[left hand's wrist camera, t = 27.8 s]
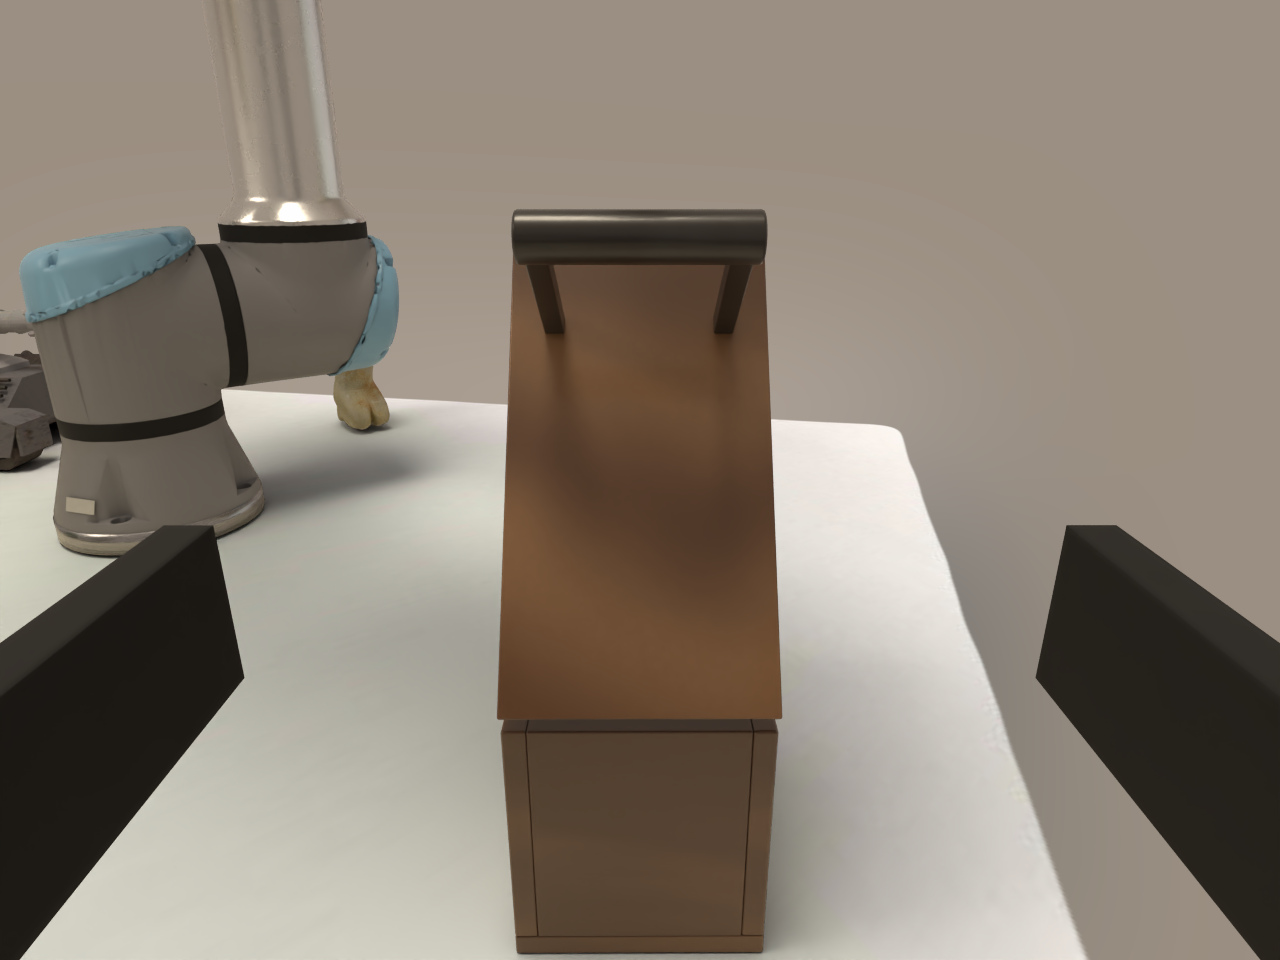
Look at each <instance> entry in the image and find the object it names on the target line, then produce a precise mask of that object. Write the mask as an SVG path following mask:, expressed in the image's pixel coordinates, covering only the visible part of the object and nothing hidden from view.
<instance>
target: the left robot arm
mask: <svg viewBox="0 0 1280 960" xmlns="http://www.w3.org/2000/svg"><path fill="white" fill-rule="evenodd" d="M243 679H244V674H243V669H242V664H241V659H240V654H239V649H238V644H237V639H236V634H235V629H234V624H233V619H232V614H231V610H230V605H229V600H228V595H227V590H226V585H225V580H224V575H223V570H222V565H221V560H220V555H219V551H218V546H217V541H216V536H215V531H214V526H213V525H163V526H162V527H161V528H159V529H158V530H156V531H155V532H154V533H152V534H151V535H150V536H148V537H147V538H145V539H144V540H143V541H141V542H140V543H138V544H137V545H136V546H134V547H133V548H132V549H130V550H129V551H127V552H126V553H125V554H123V555H122V556H120V557H119V558H118V559H116V560H115V561H113V562H112V563H111V564H109V565H108V566H107V567H105V568H104V569H102V570H101V571H100V572H98V573H97V574H95V575H94V576H93V577H91V578H90V579H89V580H87V581H86V582H84V583H83V584H82V585H80V586H79V587H77V588H76V589H75V590H73V591H72V592H70V593H69V594H68V595H66V596H65V597H64V598H62V599H61V600H59V601H58V602H57V603H55V604H54V605H52V606H51V607H50V608H48V609H47V610H46V611H44V612H43V613H41V614H40V615H39V616H37V617H36V618H34V619H33V620H32V621H30V622H29V623H28V624H26V625H25V626H23V627H22V628H21V629H19V630H18V631H16V632H15V633H14V634H12V635H11V636H9V637H8V638H7V639H5V640H4V641H3V642H1V643H0V960H20V958H21V957H22V956H23V955H24V953H25V952H26V951H27V950H28V948H29V947H30V946H31V945H32V943H33V942H34V941H35V940H36V938H37V937H38V936H39V935H40V933H41V932H42V931H43V930H44V928H45V927H46V926H47V925H48V923H49V922H50V921H51V920H52V918H53V917H54V916H55V915H56V913H57V912H58V911H59V910H60V908H61V907H62V906H63V905H64V903H65V902H66V901H67V900H68V898H69V897H70V896H71V895H72V893H73V892H74V891H75V890H76V888H77V887H78V886H79V885H80V883H81V882H82V881H83V880H84V878H85V877H86V876H87V874H88V873H89V872H90V871H91V869H92V868H93V867H94V866H95V864H96V863H97V862H98V861H99V859H100V858H101V857H102V856H103V854H104V853H105V852H106V851H107V849H108V848H109V847H110V846H111V844H112V843H113V842H114V841H115V839H116V838H117V837H118V836H119V834H120V833H121V832H122V831H123V829H124V828H125V827H126V826H127V824H128V823H129V822H130V821H131V819H132V818H133V817H134V816H135V814H136V813H137V812H138V811H139V809H140V808H141V807H142V806H143V804H144V803H145V802H146V801H147V799H148V798H149V797H150V795H151V794H152V793H153V792H154V790H155V789H156V788H157V787H158V785H159V784H160V783H161V782H162V780H163V779H164V778H165V777H166V775H167V774H168V773H169V772H170V770H171V769H172V768H173V767H174V765H175V764H176V763H177V762H178V760H179V759H180V758H181V757H182V755H183V754H184V753H185V752H186V750H187V749H188V748H189V747H190V745H191V744H192V743H193V742H194V740H195V739H196V738H197V737H198V735H199V734H200V733H201V732H202V730H203V729H204V728H205V727H206V725H207V724H208V723H209V722H210V720H211V719H212V718H213V716H214V715H215V714H216V713H217V711H218V710H219V709H220V708H221V706H222V705H223V704H224V703H225V701H226V700H227V699H228V698H229V696H230V695H231V694H232V693H233V691H234V690H235V689H236V688H237V686H238V685H239V684H240V683H241V681H242V680H243ZM1036 679H1037V680H1038V681H1039V683H1040V684H1041V685H1042V686H1043V688H1044V689H1045V690H1046V691H1047V693H1048V694H1049V695H1050V696H1051V698H1052V699H1053V700H1054V701H1055V703H1056V704H1057V705H1058V706H1059V708H1060V709H1061V710H1062V711H1063V713H1064V714H1065V715H1066V716H1067V718H1068V719H1069V720H1070V722H1071V723H1072V724H1073V725H1074V727H1075V728H1076V729H1077V730H1078V732H1079V733H1080V734H1081V735H1082V737H1083V738H1084V739H1085V740H1086V742H1087V743H1088V744H1089V745H1090V747H1091V748H1092V749H1093V750H1094V752H1095V753H1096V754H1097V755H1098V757H1099V758H1100V759H1101V760H1102V762H1103V763H1104V764H1105V765H1106V767H1107V768H1108V769H1109V770H1110V772H1111V773H1112V774H1113V775H1114V777H1115V778H1116V779H1117V780H1118V782H1119V783H1120V784H1121V785H1122V787H1123V788H1124V789H1125V790H1126V792H1127V793H1128V794H1129V795H1130V797H1131V798H1132V799H1133V801H1134V802H1135V803H1136V804H1137V806H1138V807H1139V808H1140V809H1141V811H1142V812H1143V813H1144V814H1145V815H1146V817H1147V818H1148V819H1149V821H1150V822H1151V823H1152V824H1153V826H1154V827H1155V828H1156V829H1157V831H1158V832H1159V833H1160V834H1161V835H1162V837H1163V838H1164V839H1165V841H1166V842H1167V843H1168V844H1169V846H1170V847H1171V848H1172V849H1173V851H1174V852H1175V853H1176V854H1177V856H1178V857H1179V858H1180V859H1181V861H1182V862H1183V863H1184V864H1185V866H1186V867H1187V868H1188V869H1189V871H1190V872H1191V873H1192V874H1193V876H1194V877H1195V878H1196V879H1197V881H1198V882H1199V883H1200V884H1201V886H1202V887H1203V888H1204V890H1205V891H1206V892H1207V893H1208V895H1209V896H1210V897H1211V898H1212V900H1213V901H1214V902H1215V903H1216V905H1217V906H1218V907H1219V908H1220V910H1221V911H1222V912H1223V913H1224V915H1225V916H1226V917H1227V918H1228V920H1229V921H1230V922H1231V923H1232V925H1233V926H1234V927H1235V928H1236V930H1237V931H1238V932H1239V933H1240V935H1241V936H1242V937H1243V938H1244V940H1245V941H1246V942H1247V943H1248V945H1249V946H1250V947H1251V948H1252V950H1253V951H1254V952H1255V953H1256V955H1257V956H1258V957H1259V958H1260V960H1280V643H1279V642H1277V641H1276V640H1275V639H1273V638H1272V637H1271V636H1269V635H1268V634H1266V633H1265V632H1264V631H1262V630H1261V629H1259V628H1258V627H1257V626H1255V625H1254V624H1252V623H1251V622H1250V621H1248V620H1247V619H1246V618H1244V617H1243V616H1241V615H1240V614H1239V613H1237V612H1236V611H1234V610H1233V609H1232V608H1230V607H1229V606H1228V605H1226V604H1225V603H1223V602H1222V601H1221V600H1219V599H1218V598H1216V597H1215V596H1214V595H1212V594H1211V593H1210V592H1208V591H1207V590H1205V589H1204V588H1202V587H1201V586H1200V585H1198V584H1197V583H1196V582H1194V581H1193V580H1191V579H1190V578H1189V577H1187V576H1186V575H1184V574H1183V573H1182V572H1180V571H1179V570H1178V569H1176V568H1175V567H1173V566H1172V565H1171V564H1169V563H1168V562H1166V561H1165V560H1164V559H1162V558H1161V557H1160V556H1158V555H1157V554H1155V553H1154V552H1153V551H1151V550H1150V549H1148V548H1147V547H1146V546H1144V545H1143V544H1142V543H1140V542H1139V541H1137V540H1136V539H1135V538H1133V537H1132V536H1130V535H1129V534H1128V533H1126V532H1125V531H1124V530H1122V529H1121V528H1119V527H1118V526H1116V525H1067V526H1066V531H1065V536H1064V541H1063V546H1062V551H1061V555H1060V560H1059V565H1058V570H1057V575H1056V580H1055V585H1054V590H1053V595H1052V600H1051V605H1050V610H1049V614H1048V619H1047V624H1046V629H1045V634H1044V639H1043V644H1042V649H1041V654H1040V659H1039V664H1038V669H1037V674H1036Z"/></svg>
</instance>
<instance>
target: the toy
mask: <svg viewBox="0 0 1280 960" xmlns="http://www.w3.org/2000/svg"><path fill="white" fill-rule="evenodd" d="M25 312H26V311H21V310H14V311H4V310H0V334H5V333H8V332H16V333H18V334H23V333H26V332H29V333H28V335H29V336H33V337H35V335H34V331H33V327H32V323H31V322H27V321H26V318H25ZM53 422H57V421H56V418H55V415H54V411H53V407H52V403H51V399H50V395H49V391H48V387H47V383H46V379H45V375H44V371H43V367H42V363H41V359H40V355H39V354H32V353H31V352H30V351H23V352H22V353H21V354H15V355H14V356H10V355H5V354H0V470H10V469H13V468H15V467H17V466H19V465H22V464H24V463H26V462H29V461H31V460H33V459H36V458H38V457H39V456H40V455H41V453H42V451H43V448H45V447H47V446H49V445H52V444H53V440H52V436H51V432H50V428H49V424H51V423H53Z"/></svg>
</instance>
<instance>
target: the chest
mask: <svg viewBox="0 0 1280 960" xmlns="http://www.w3.org/2000/svg"><path fill="white" fill-rule="evenodd" d="M501 743H502V757H503V770H504V784H505V798H506V811H507V825H508V839H509V852H510V866H511V880H512V893H513V907H514V921H515V934H516V949H517V952H518V953H588V952H762V950H763V937H764V935H763V933H764V922H765V908H766V894H767V880H768V867H769V853H770V839H771V826H772V812H773V798H774V784H775V771H776V757H777V743H778V729H777V726H776V722H775V719H589V720H504V722H503V726H502V730H501Z"/></svg>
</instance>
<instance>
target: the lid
mask: <svg viewBox="0 0 1280 960" xmlns="http://www.w3.org/2000/svg"><path fill="white" fill-rule="evenodd" d="M766 247H767V217H766V213H765V211H764V210H762V209H517V210H515V211H514V213H513V216H512V248H513V273H512V302H511V331H510V359H509V389H508V417H507V445H506V474H505V503H504V532H503V560H502V589H501V618H500V646H499V675H498V704H497V719H499V720H589V719H782V697H781V671H780V645H779V619H778V593H777V567H776V541H775V514H774V488H773V462H772V436H771V411H770V384H769V358H768V332H767V306H766V279H765V254H766Z"/></svg>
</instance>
